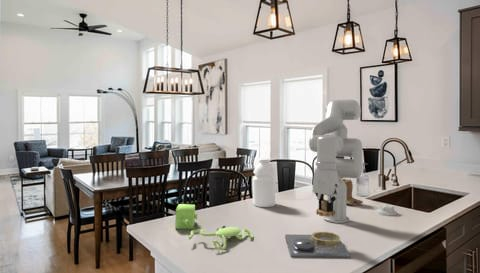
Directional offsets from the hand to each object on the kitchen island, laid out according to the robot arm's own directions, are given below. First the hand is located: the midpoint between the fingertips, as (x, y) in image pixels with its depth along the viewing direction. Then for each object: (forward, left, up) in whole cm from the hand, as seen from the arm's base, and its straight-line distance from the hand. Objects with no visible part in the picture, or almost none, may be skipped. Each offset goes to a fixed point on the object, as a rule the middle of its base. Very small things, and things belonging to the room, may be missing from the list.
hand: (325, 209), depth 136 cm
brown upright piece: (-67, +28, -14) cm, 74 cm away
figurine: (-2, -44, -15) cm, 46 cm away
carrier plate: (+4, -5, -14) cm, 15 cm away
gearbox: (-21, -62, -14) cm, 67 cm away
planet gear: (0, 0, -2) cm, 2 cm away
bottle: (-63, -23, -14) cm, 69 cm away
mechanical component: (-46, +44, -15) cm, 65 cm away
